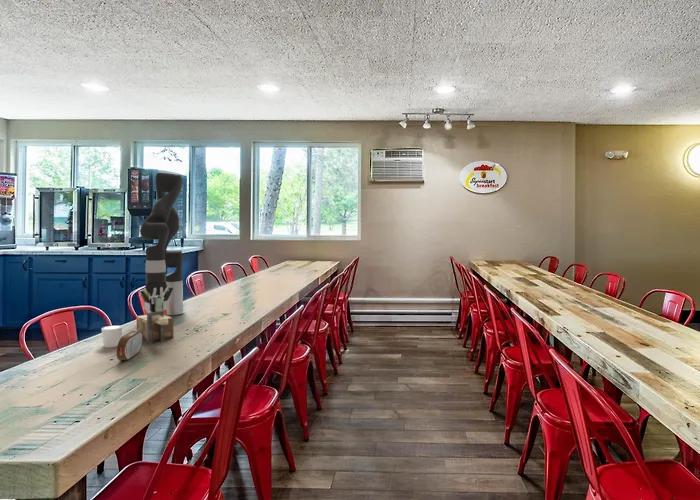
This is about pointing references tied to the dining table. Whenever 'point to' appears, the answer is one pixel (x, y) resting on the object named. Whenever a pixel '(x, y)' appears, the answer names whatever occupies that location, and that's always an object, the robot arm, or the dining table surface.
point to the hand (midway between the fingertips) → (156, 311)
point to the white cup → (111, 335)
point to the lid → (157, 308)
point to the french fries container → (147, 305)
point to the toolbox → (155, 328)
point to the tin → (129, 345)
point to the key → (160, 319)
